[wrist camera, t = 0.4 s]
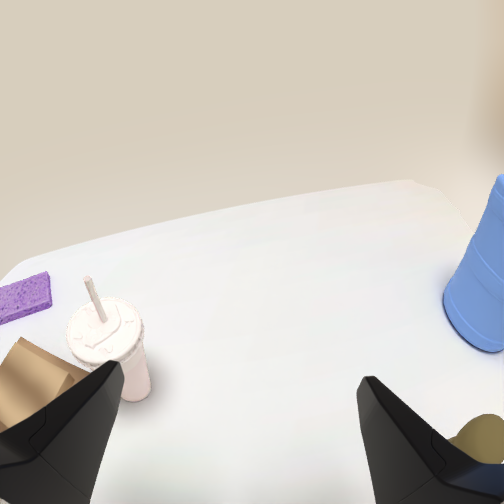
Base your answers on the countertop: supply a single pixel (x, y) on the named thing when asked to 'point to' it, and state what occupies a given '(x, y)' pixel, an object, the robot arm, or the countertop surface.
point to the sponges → (25, 297)
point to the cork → (482, 439)
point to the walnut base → (32, 381)
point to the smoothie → (111, 340)
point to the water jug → (481, 280)
